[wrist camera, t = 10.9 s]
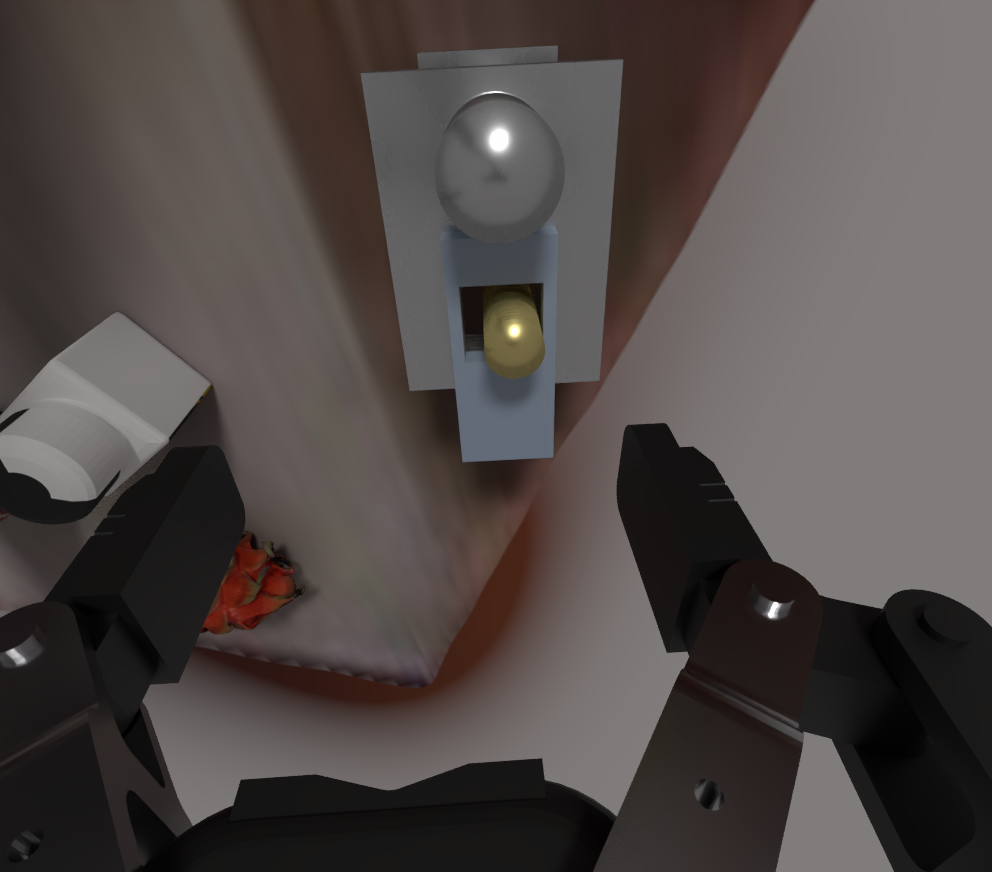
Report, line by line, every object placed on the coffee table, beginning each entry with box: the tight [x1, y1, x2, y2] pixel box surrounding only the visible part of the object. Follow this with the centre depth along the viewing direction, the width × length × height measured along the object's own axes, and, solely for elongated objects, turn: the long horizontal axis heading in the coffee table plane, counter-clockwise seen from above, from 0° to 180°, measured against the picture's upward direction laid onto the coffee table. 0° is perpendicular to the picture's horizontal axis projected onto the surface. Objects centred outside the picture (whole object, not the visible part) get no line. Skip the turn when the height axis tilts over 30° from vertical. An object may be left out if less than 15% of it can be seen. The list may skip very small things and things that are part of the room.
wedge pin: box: [482, 283, 545, 379], centre depth 29 cm, size 3×3×13 cm
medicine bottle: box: [0, 312, 211, 524], centre depth 33 cm, size 7×7×12 cm
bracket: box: [441, 226, 558, 462], centre depth 31 cm, size 5×12×10 cm, turn 2°
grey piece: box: [361, 46, 623, 391], centre depth 27 cm, size 10×14×14 cm
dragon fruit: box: [200, 531, 305, 634], centre depth 45 cm, size 8×8×12 cm
